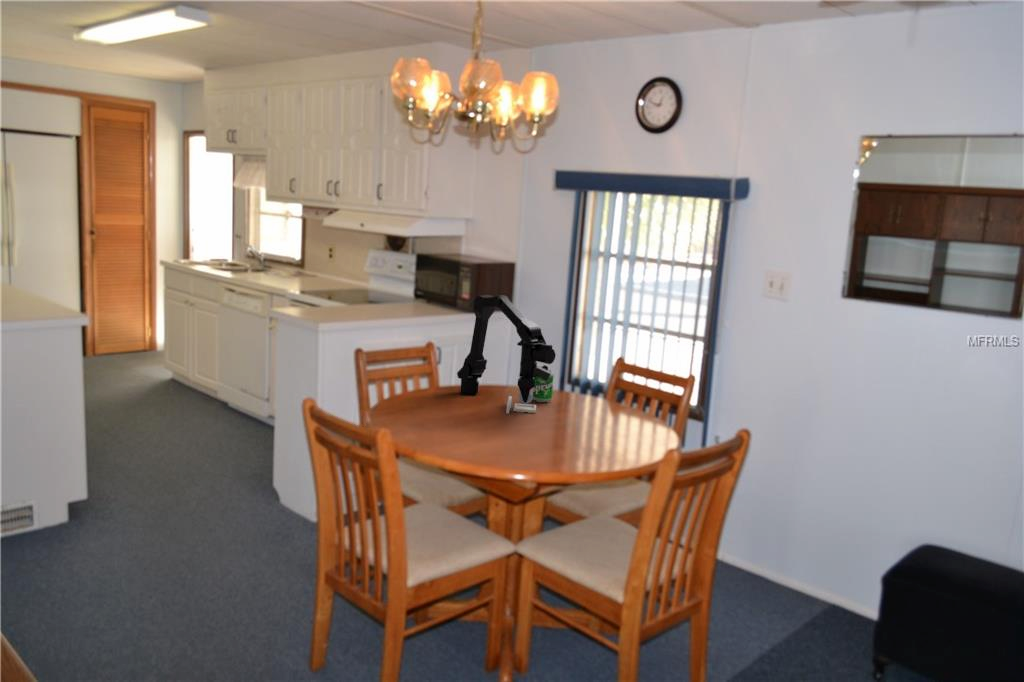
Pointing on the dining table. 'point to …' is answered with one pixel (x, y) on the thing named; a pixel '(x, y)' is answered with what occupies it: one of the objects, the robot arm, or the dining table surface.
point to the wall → (509, 404)
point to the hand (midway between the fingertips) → (525, 400)
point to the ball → (528, 398)
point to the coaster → (525, 408)
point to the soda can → (543, 389)
